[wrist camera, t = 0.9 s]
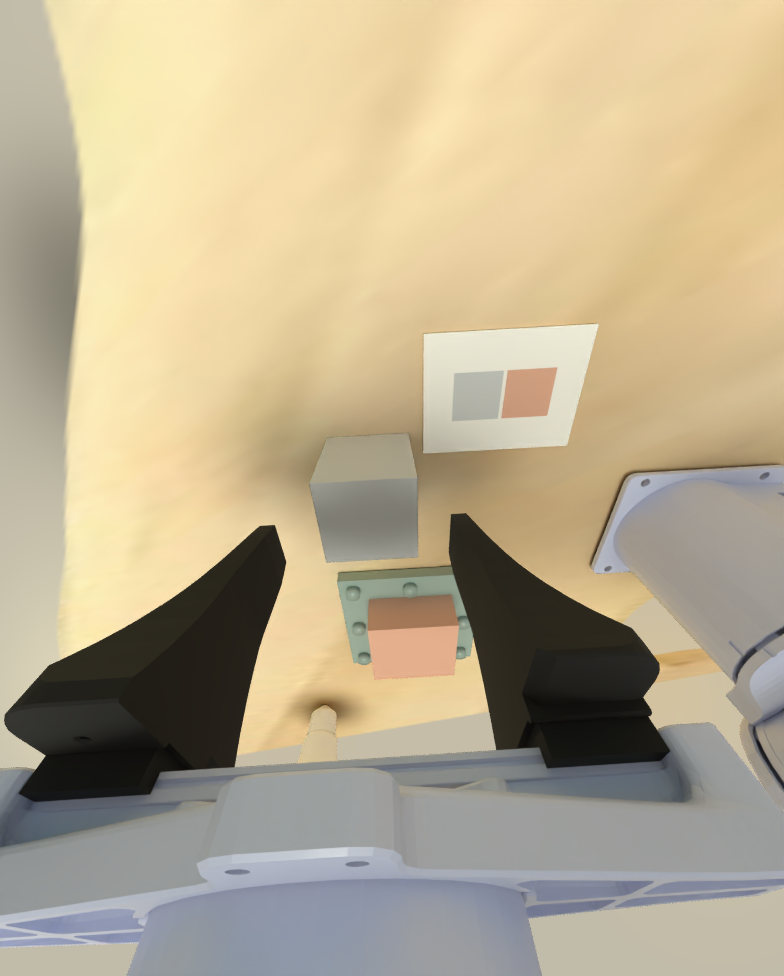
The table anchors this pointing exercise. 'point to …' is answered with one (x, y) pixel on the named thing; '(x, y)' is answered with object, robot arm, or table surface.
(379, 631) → the base brick
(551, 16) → the table surface
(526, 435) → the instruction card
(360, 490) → the grey brick
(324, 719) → the lightbulb
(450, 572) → the build plate
